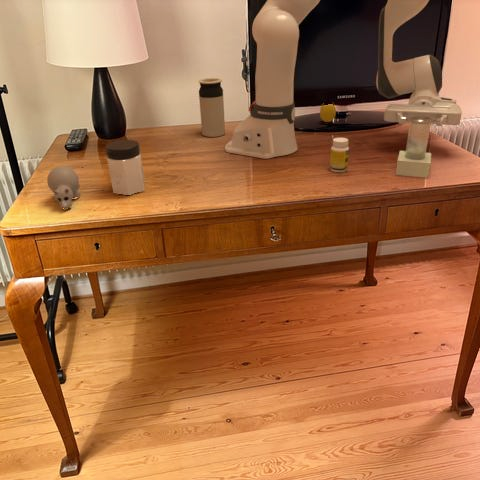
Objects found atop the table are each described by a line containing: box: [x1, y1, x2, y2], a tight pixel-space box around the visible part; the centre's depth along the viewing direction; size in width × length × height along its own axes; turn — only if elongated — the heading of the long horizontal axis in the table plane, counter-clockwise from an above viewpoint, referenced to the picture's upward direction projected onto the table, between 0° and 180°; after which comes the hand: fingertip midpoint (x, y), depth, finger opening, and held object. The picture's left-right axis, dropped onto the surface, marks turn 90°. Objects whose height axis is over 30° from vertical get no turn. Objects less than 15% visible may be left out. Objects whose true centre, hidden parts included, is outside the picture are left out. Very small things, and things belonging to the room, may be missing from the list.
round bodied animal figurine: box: [46, 165, 81, 209], centre depth 112 cm, size 7×12×8 cm, turn 12°
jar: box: [105, 139, 146, 196], centre depth 117 cm, size 9×8×12 cm
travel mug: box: [198, 77, 226, 138], centre depth 155 cm, size 8×8×18 cm
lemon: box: [319, 103, 337, 123], centre depth 164 cm, size 6×6×8 cm
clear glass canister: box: [405, 116, 432, 160], centre depth 119 cm, size 5×5×10 cm
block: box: [395, 150, 432, 179], centre depth 122 cm, size 8×8×4 cm
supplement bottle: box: [329, 137, 350, 173], centre depth 124 cm, size 5×5×8 cm
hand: (420, 121), depth 124 cm, fingers open, 8 cm apart
